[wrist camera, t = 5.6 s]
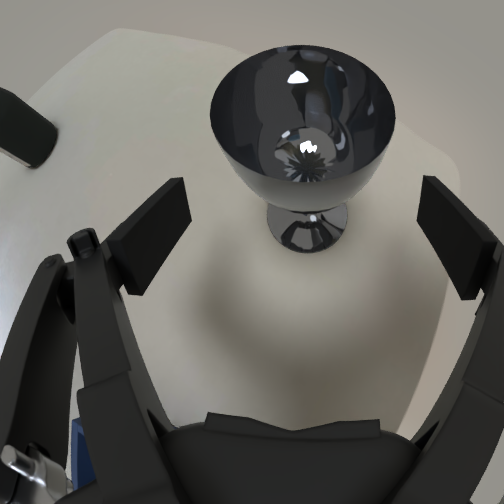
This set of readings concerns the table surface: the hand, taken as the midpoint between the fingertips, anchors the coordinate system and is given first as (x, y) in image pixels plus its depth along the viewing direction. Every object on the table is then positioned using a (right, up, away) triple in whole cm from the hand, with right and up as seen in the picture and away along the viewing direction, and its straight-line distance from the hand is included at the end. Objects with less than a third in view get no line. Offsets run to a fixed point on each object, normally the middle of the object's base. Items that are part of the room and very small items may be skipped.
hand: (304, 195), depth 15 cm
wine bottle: (-37, +14, +21) cm, 44 cm away
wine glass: (+2, 0, +11) cm, 11 cm away
